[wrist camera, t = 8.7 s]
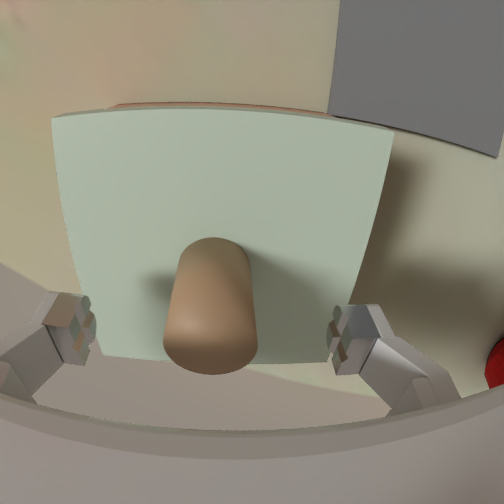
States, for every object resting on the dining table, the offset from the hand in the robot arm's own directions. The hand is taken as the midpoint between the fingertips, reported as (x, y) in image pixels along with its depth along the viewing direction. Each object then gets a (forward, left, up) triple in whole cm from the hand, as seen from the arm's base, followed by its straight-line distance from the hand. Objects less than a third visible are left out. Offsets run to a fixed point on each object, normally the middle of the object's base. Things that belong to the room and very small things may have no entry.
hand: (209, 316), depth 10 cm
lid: (0, 0, -4) cm, 4 cm away
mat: (-12, -12, -9) cm, 19 cm away
